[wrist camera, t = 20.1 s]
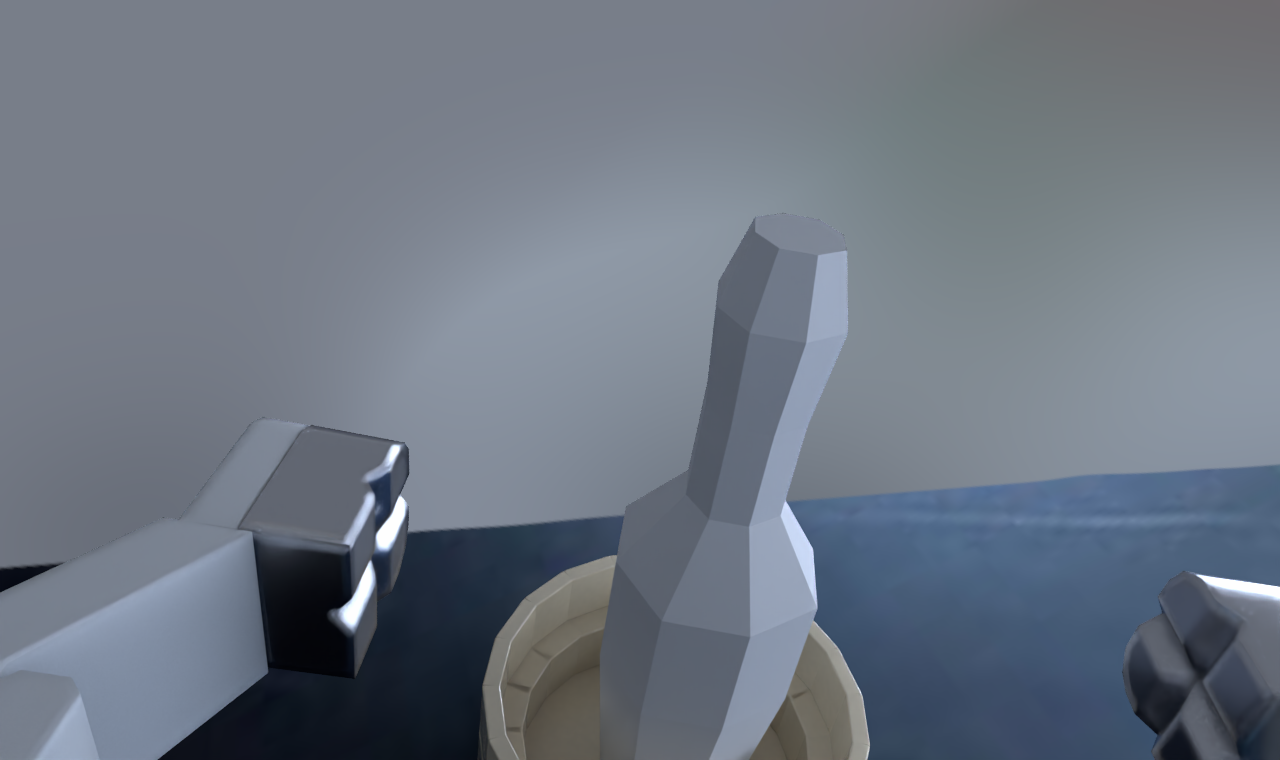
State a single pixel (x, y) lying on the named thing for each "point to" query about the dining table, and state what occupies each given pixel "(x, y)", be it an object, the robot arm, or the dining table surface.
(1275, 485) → the dining table surface
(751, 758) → the bowl
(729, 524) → the faceted bottle
